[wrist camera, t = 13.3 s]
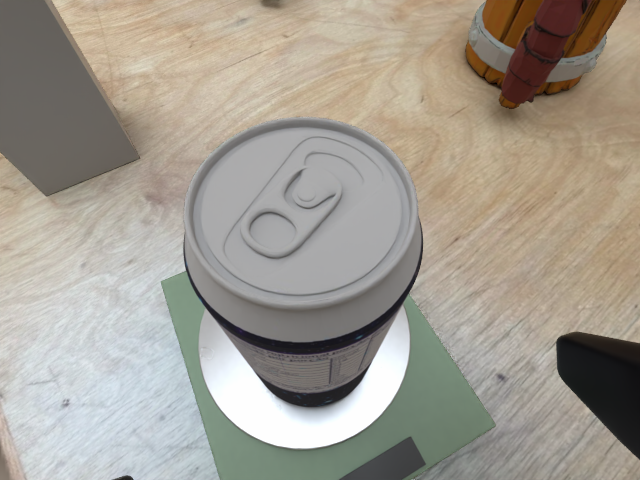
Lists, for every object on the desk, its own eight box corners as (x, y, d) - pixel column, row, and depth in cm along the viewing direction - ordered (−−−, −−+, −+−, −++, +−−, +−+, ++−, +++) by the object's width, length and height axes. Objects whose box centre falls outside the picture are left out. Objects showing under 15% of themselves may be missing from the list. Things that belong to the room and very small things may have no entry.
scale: (480, 428, 19) (503, 424, 16) (257, 568, 16) (247, 586, 14) (347, 220, 25) (350, 197, 23) (172, 294, 22) (155, 276, 20)
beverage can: (392, 335, 18) (485, 176, 8) (323, 438, 16) (328, 401, 6) (303, 272, 20) (285, 75, 10) (229, 357, 18) (103, 216, 7)
